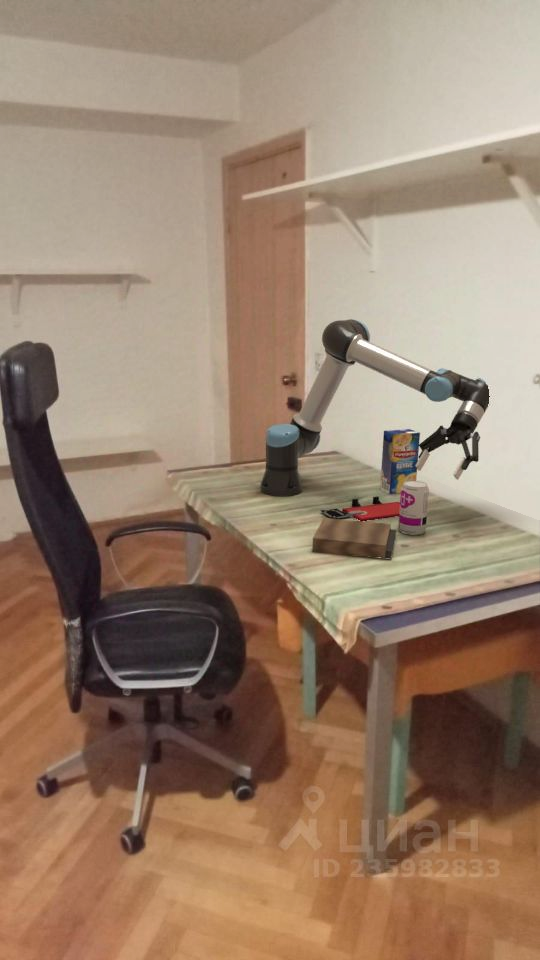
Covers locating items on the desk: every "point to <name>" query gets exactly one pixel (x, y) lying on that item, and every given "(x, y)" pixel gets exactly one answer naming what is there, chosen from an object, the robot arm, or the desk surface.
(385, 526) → the brown flat block
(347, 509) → the red board with handle
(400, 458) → the beverage box
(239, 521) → the desk surface
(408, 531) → the supplement can
